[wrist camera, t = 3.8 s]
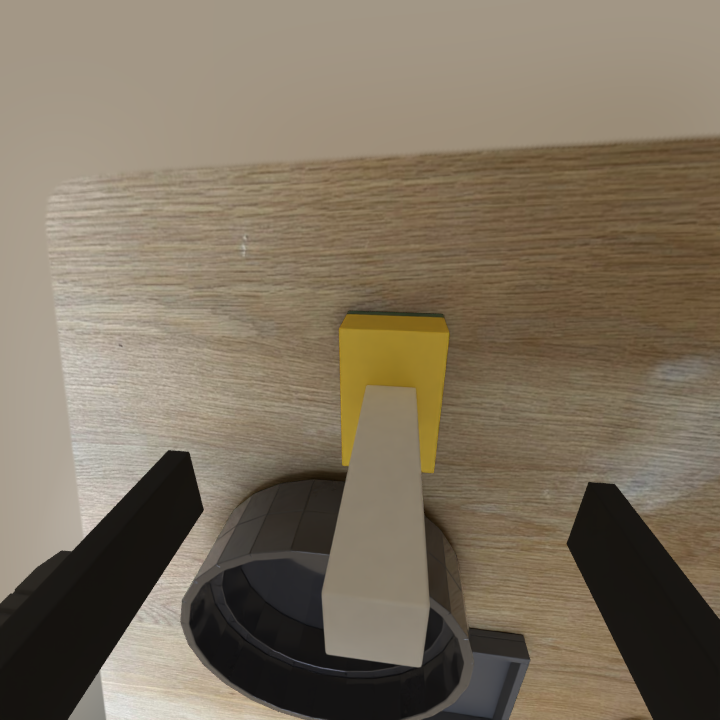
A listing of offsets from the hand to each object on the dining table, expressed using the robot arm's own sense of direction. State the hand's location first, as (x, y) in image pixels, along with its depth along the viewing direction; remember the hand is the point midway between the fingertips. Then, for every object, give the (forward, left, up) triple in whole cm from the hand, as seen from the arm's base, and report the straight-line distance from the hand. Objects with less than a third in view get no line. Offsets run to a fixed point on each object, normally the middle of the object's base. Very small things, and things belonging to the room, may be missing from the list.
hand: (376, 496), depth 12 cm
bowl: (-9, +14, -9) cm, 19 cm away
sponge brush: (0, 0, -9) cm, 9 cm away
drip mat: (-25, +16, -9) cm, 31 cm away
